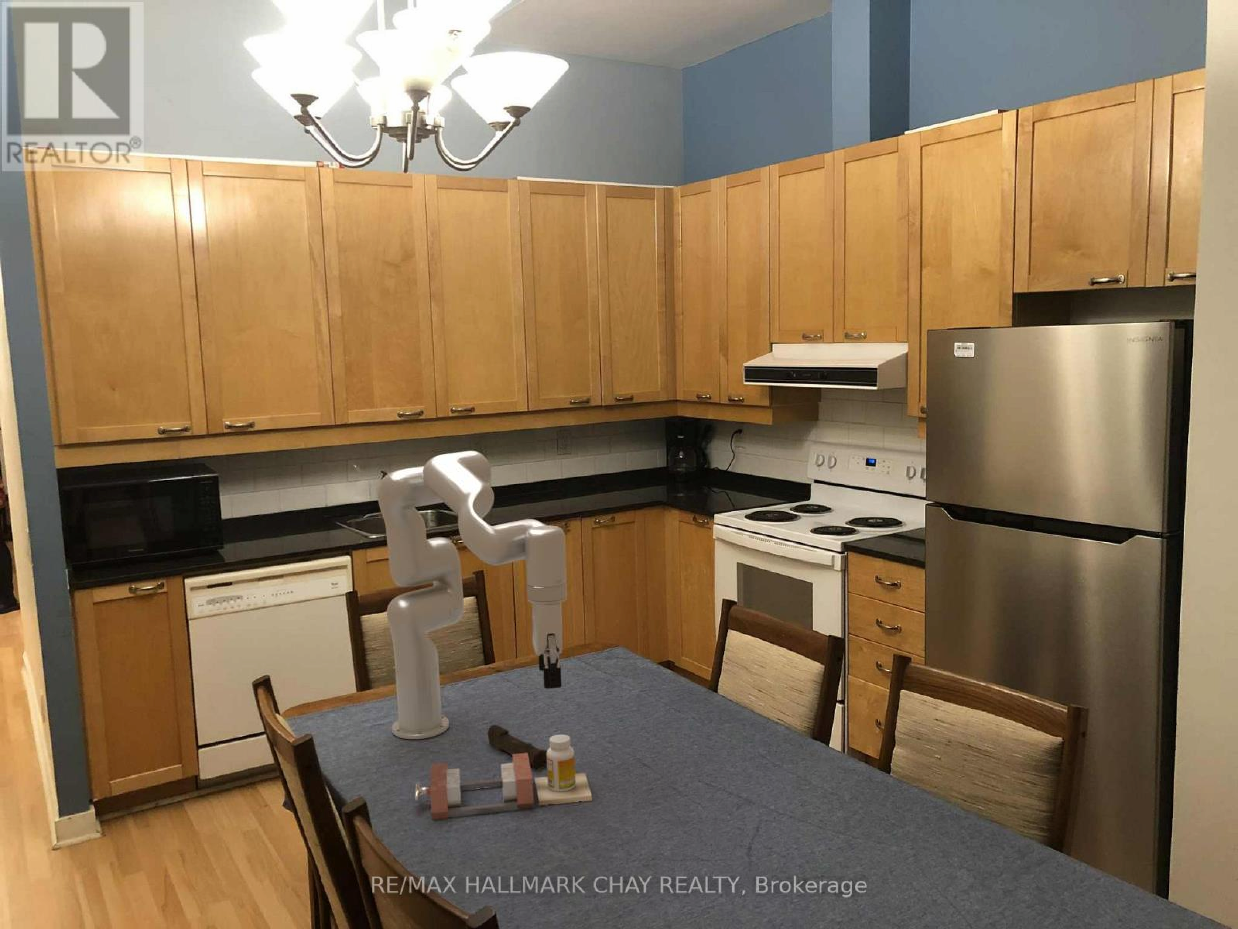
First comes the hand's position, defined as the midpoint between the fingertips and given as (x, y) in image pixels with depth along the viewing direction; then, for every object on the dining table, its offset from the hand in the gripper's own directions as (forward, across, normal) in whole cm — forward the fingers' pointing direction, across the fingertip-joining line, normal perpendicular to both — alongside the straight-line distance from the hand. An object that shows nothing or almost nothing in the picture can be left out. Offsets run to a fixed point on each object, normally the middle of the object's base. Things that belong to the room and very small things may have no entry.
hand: (550, 678), depth 195 cm
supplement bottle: (+22, +1, +2) cm, 22 cm away
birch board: (+22, +1, +2) cm, 23 cm away
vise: (+23, +1, -15) cm, 27 cm away
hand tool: (+23, -18, -7) cm, 30 cm away
